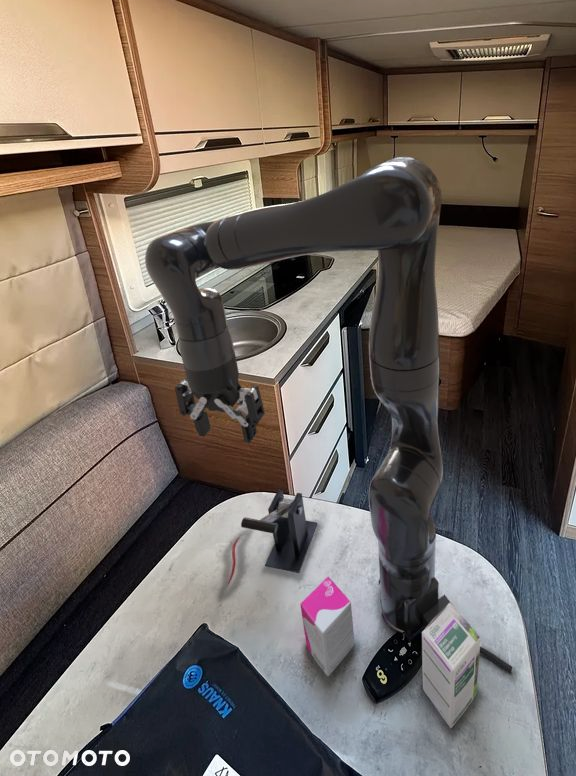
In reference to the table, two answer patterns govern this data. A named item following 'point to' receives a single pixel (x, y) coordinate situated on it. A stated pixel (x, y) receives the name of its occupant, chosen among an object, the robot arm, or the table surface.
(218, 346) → the robot arm
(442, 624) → the syrup box
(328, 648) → the supplement box
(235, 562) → the cayenne pepper
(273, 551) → the bracket
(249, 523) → the lever
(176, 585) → the table surface
